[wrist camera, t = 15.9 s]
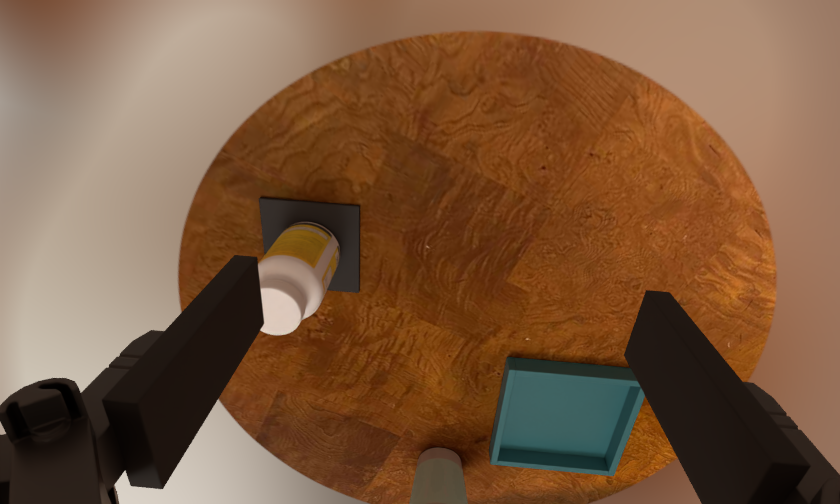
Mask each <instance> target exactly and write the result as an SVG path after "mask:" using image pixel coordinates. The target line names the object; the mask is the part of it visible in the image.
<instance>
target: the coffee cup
mask: <svg viewBox="0 0 840 504" xmlns="http://www.w3.org/2000/svg"><path fill="white" fill-rule="evenodd" d="M409 504H468V502H467V496H466V489H465V483H464V477H463V470H462V464H461V459H460V457H459V456H458V455H457V454H456V453H455V452H453V451H452V450H449V449H446V448H431V449H428V450H426V451H424V452H423V453H422V454H421V455H420V456H419V459H418V463H417V468H416V473H415V478H414V483H413V488H412V493H411V498H410V503H409Z"/></svg>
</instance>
